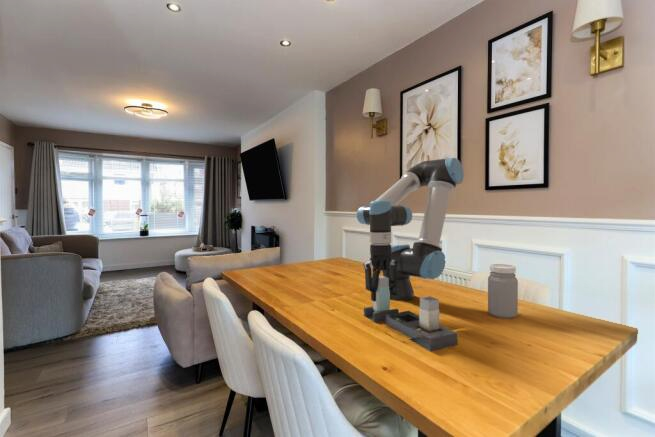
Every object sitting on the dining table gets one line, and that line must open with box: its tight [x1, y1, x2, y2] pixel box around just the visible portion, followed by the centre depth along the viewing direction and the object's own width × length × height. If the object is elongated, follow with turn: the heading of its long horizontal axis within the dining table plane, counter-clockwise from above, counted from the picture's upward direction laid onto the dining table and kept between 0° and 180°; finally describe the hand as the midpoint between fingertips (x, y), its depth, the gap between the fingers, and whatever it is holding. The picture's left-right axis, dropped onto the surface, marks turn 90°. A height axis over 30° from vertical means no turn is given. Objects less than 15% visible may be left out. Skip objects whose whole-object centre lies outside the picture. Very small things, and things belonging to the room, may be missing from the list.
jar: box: [487, 263, 519, 320], centre depth 117 cm, size 10×10×18 cm
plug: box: [374, 275, 390, 312], centre depth 114 cm, size 4×4×14 cm
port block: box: [384, 295, 458, 352], centre depth 100 cm, size 10×22×12 cm, turn 24°
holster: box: [363, 305, 400, 324], centre depth 114 cm, size 10×8×4 cm
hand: (381, 308), depth 115 cm, fingers closed on plug, 4 cm apart
